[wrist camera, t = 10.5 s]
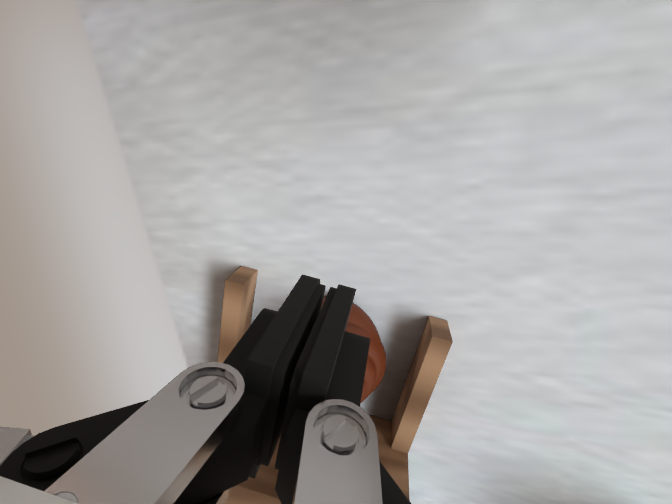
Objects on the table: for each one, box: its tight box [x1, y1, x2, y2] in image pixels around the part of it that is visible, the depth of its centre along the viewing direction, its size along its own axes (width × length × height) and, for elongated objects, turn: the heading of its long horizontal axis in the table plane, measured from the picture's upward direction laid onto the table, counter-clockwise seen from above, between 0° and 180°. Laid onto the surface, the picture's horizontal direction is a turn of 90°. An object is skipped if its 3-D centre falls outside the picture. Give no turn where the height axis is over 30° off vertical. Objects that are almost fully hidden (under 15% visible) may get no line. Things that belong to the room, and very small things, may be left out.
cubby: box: [218, 266, 452, 504], centre depth 25 cm, size 14×18×14 cm
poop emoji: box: [321, 297, 386, 402], centre depth 27 cm, size 10×8×9 cm
